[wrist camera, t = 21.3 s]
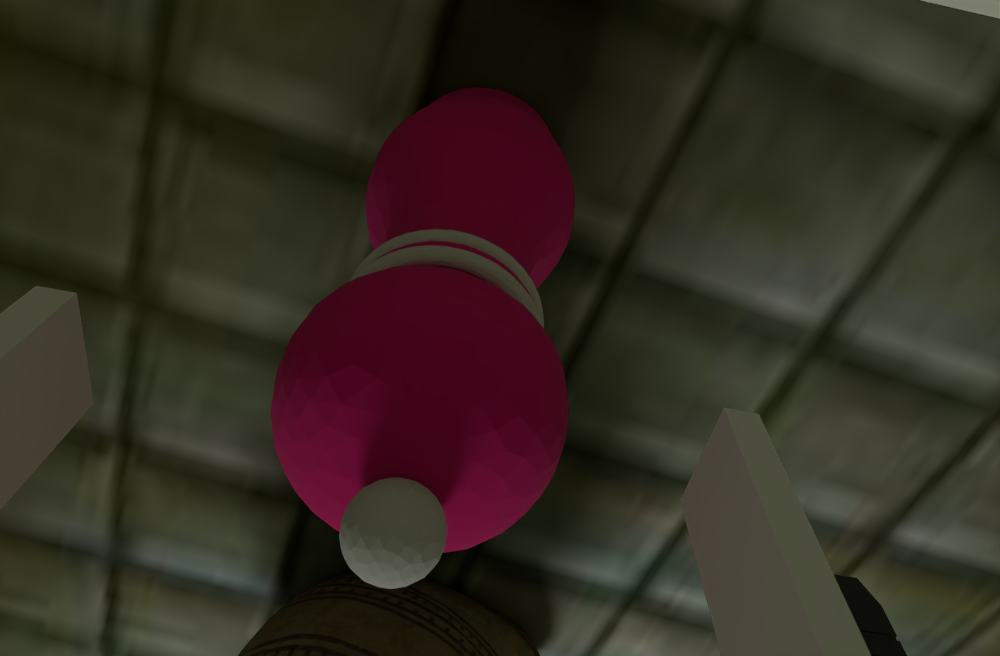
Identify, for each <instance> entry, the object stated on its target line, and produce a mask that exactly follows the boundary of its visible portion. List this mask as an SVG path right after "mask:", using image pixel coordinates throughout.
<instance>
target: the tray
mask: <svg viewBox="0 0 1000 656" xmlns="http://www.w3.org/2000/svg"><path fill="white" fill-rule="evenodd" d="M922 1H926V2H930V3H935V4H939V5H943V6H948V7H952V8H956V9H961V10H965V11H970V12H974V13H978V14H983V15H987V16H991V17H996V18H1000V0H922Z"/></svg>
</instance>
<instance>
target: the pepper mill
mask: <svg viewBox="0 0 1000 656" xmlns="http://www.w3.org/2000/svg"><path fill="white" fill-rule="evenodd" d="M574 208H575V194H574V185H573V180H572V175H571V172H570V169H569V167H568V164H567V161H566V159H565V157H564V155H563V153H562V152H561V150H560V148H559V146H558V145H557V143H556V142H555V141H554V139H553V137H552V135H551V132H550V130H549V129H548V127H547V125H546V124H545V122H544V121H543V119H542V118H541V117H540V116H539V114H538V113H537V112H536V111H535V110H534V109H533V108H532V107H531V106H529V105H528V104H527V103H525V102H524V101H522V100H521V99H519V98H518V97H516V96H514V95H511V94H509V93H507V92H504V91H500V90H495V89H491V88H476V87H472V88H465V89H460V90H456V91H453V92H451V93H448V94H446V95H444V96H442V97H440V98H438V99H437V100H435V101H434V102H432V103H431V104H430V105H429V106H427V107H425V108H422V109H421V110H419V111H418V112H416V113H415V114H413V115H411V116H410V117H408V118H407V119H406V120H404V121H403V122H402V123H401V124H400V125H399V126H398V127H397V128H396V129H394V131H393V132H392V133H391V135H390V136H389V137H388V138H387V140H386V141H385V142H384V144H383V146H382V148H381V150H380V152H379V154H378V156H377V158H376V161H375V164H374V167H373V170H372V173H371V176H370V179H369V182H368V188H367V194H366V215H367V224H368V230H369V236H370V240H371V243H372V246H373V249H374V251H373V252H371V253H370V254H369V255H368V256H367V257H366V258H365V259H364V260H363V261H362V262H361V263H360V264H359V266H358V268H357V269H356V271H355V272H354V274H353V275H352V278H351V280H350V282H348V283H346V284H344V285H343V286H341V287H340V288H338V289H337V290H335V291H334V292H333V293H331V294H330V295H329V296H327V297H326V298H325V299H323V300H322V301H321V302H319V303H318V304H317V305H316V306H315V307H314V308H313V310H312V311H311V312H310V314H309V315H308V316H307V317H306V319H305V320H304V321H303V323H302V324H301V325H300V326H299V328H298V329H297V330H296V332H295V333H294V334H293V335H292V337H291V339H290V342H289V344H288V346H287V349H286V351H285V354H284V356H283V358H282V361H281V363H280V365H279V368H278V370H277V375H276V380H275V385H274V393H273V400H272V408H271V420H272V429H273V437H274V446H275V450H276V453H277V455H278V458H279V460H280V463H281V465H282V468H283V470H284V472H285V474H286V476H287V478H288V480H289V481H290V483H291V485H292V487H293V489H294V491H295V492H296V493H297V494H298V495H299V497H300V498H301V499H302V500H303V501H304V503H305V504H306V505H307V506H308V507H309V508H310V510H311V511H312V512H313V513H314V514H316V515H317V516H318V517H319V518H321V519H322V520H323V521H325V522H326V523H327V524H328V525H330V526H331V527H332V528H334V529H335V530H337V531H339V532H340V533H339V539H340V546H341V551H342V554H343V557H344V559H345V561H346V562H347V564H348V566H349V568H350V569H351V570H352V571H353V572H354V573H355V574H357V575H358V576H359V577H360V578H361V579H362V580H363V581H364V582H367V583H369V584H372V585H374V586H377V587H380V588H387V589H395V588H401V587H406V586H408V585H410V584H412V583H414V582H417V581H419V580H421V579H423V578H425V577H426V576H427V575H428V573H429V572H430V571H431V570H432V569H433V568H434V567H435V566H436V565H437V563H438V562H439V560H440V558H441V555H442V553H446V552H452V551H459V550H465V549H469V548H471V547H473V546H476V545H478V544H480V543H482V542H485V541H487V540H489V539H491V538H493V537H495V536H497V535H499V534H501V533H502V532H504V531H505V530H506V529H508V528H509V527H510V526H512V525H513V524H514V523H515V522H517V521H518V520H519V519H520V518H521V517H522V516H523V515H524V514H525V513H526V512H527V511H528V510H529V509H530V508H531V507H532V506H533V505H534V503H535V502H536V501H537V500H538V499H539V498H540V497H541V495H542V493H543V492H544V490H545V489H546V487H547V485H548V484H549V482H550V480H551V479H552V477H553V476H554V473H555V470H556V467H557V464H558V462H559V459H560V456H561V453H562V450H563V447H564V442H565V438H566V434H567V429H568V414H569V406H568V398H567V389H566V381H565V375H564V370H563V365H562V363H561V360H560V358H559V355H558V353H557V351H556V348H555V346H554V344H553V342H552V340H551V339H550V337H549V336H548V334H547V333H546V331H545V330H544V316H543V309H542V305H541V301H540V296H539V294H538V291H537V288H538V287H539V286H540V285H541V284H542V283H543V281H544V280H545V279H546V278H547V277H548V275H549V274H550V273H551V272H552V270H553V269H554V267H555V266H556V265H557V263H558V262H559V260H560V258H561V256H562V254H563V252H564V250H565V249H566V247H567V244H568V241H569V238H570V235H571V231H572V224H573V218H574Z"/></svg>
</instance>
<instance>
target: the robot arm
mask: <svg viewBox="0 0 1000 656" xmlns="http://www.w3.org/2000/svg"><path fill="white" fill-rule="evenodd" d="M92 405H93V396H92V389H91V383H90V376H89V370H88V363H87V357H86V350H85V343H84V337H83V330H82V324H81V317H80V310H79V304H78V297H77V293H74V292H68V291H62V290H57V289H51V288H46V287H40V286H35V287H34V288H33V289H31V290H30V291H29V292H28V293H26V294H25V295H24V296H22V297H21V298H20V299H18V300H17V301H16V302H15V303H13V304H12V305H11V306H9V307H8V308H7V309H5V310H4V311H3V312H2V313H0V510H1V509H2V508H3V507H4V505H5V504H6V503H7V502H8V501H9V500H10V499H11V497H12V496H13V495H14V494H15V493H16V492H17V491H18V489H19V488H20V487H21V486H22V485H23V484H24V482H25V481H26V480H27V479H28V478H29V477H30V476H31V474H32V473H33V472H34V471H35V470H36V469H37V468H38V466H39V465H40V464H41V463H42V462H43V461H44V460H45V458H46V457H47V456H48V455H49V454H50V453H51V452H52V450H53V449H54V448H55V447H56V446H57V445H58V444H59V442H60V441H61V440H62V439H63V438H64V437H65V436H66V434H67V433H68V432H69V431H70V430H71V429H72V428H73V426H74V425H75V424H76V423H77V422H78V421H79V420H80V418H81V417H82V416H83V415H84V414H85V413H86V412H87V410H88V409H89V408H90V407H91V406H92ZM680 501H681V505H682V509H683V513H684V517H685V520H686V524H687V528H688V532H689V535H690V539H691V543H692V547H693V551H694V554H695V558H696V562H697V566H698V569H699V573H700V577H701V581H702V585H703V588H704V592H705V596H706V600H707V603H708V607H709V611H710V615H711V619H712V622H713V626H714V630H715V634H716V637H717V641H718V645H719V649H720V653H721V656H907V655H906V653H905V651H904V649H903V647H902V645H901V643H900V641H897V640H896V636H897V635H896V633H895V631H894V629H893V627H892V626H891V624H890V622H889V620H888V618H887V616H886V614H885V612H884V610H883V608H882V606H881V605H880V604H879V603H878V601H877V600H876V599H875V598H874V597H873V596H872V595H871V594H870V592H869V591H868V590H867V589H866V588H865V587H864V586H863V584H862V583H861V582H860V581H859V580H858V579H857V578H852V577H846V576H840V575H834V574H833V572H832V570H831V568H830V566H829V564H828V562H827V560H826V557H825V555H824V553H823V551H822V549H821V547H820V545H819V542H818V540H817V538H816V536H815V534H814V532H813V530H812V527H811V525H810V523H809V521H808V519H807V517H806V514H805V512H804V510H803V508H802V506H801V504H800V502H799V499H798V497H797V495H796V493H795V491H794V489H793V487H792V484H791V482H790V480H789V478H788V476H787V474H786V472H785V469H784V467H783V465H782V463H781V461H780V459H779V456H778V454H777V452H776V450H775V448H774V446H773V444H772V441H771V439H770V437H769V435H768V433H767V431H766V429H765V426H764V424H763V422H762V420H761V418H760V416H759V414H756V413H751V412H745V411H739V410H734V409H728V408H723V410H722V412H721V414H720V417H719V419H718V421H717V423H716V425H715V427H714V430H713V432H712V434H711V436H710V438H709V440H708V442H707V445H706V447H705V449H704V451H703V453H702V455H701V457H700V460H699V462H698V464H697V466H696V468H695V470H694V472H693V475H692V477H691V479H690V481H689V483H688V485H687V487H686V490H685V492H684V494H683V496H682V498H681V500H680Z"/></svg>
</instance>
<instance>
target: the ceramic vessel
mask: <svg viewBox="0 0 1000 656" xmlns="http://www.w3.org/2000/svg"><path fill="white" fill-rule="evenodd" d="M238 656H540V655H539V653H538V651H537V649H536V648H535V646H534V644H533V642H532V641H531V640H530V638H529V637H528V636H527V635H526V634H525V633H524V632H523V631H522V630H521V629H520V628H519V627H517V626H516V625H515V624H514V623H512V622H511V621H510V620H508V619H507V618H505V617H503V616H501V615H499V614H497V613H495V612H494V611H492V610H490V609H488V608H486V607H485V606H483V605H482V604H480V603H479V602H477V601H475V600H474V599H472V598H470V597H467V596H465V595H463V594H461V593H459V592H457V591H455V590H453V589H450V588H448V587H446V586H444V585H442V584H440V583H437V582H433V581H430V580H426V579H421V580H419V581H417V582H414V583H412V584H410V585H408V586H406V587H401V588H395V589H387V588H380V587H377V586H374V585H372V584H369V583H367V582H364V581H363V580H362V579H361V578H360V577H359V576H358V575H357V574H355V573H354V572H349V573H346V574H342V575H339V576H336V577H333V578H330V579H328V580H325V581H323V582H320V583H318V584H316V585H314V586H312V587H310V588H309V589H307V590H305V591H303V592H302V593H300V594H298V595H297V596H296V597H294V598H293V599H292V600H291V601H289V602H288V603H287V604H286V605H284V606H283V607H282V608H281V609H280V610H279V611H278V612H277V613H276V614H274V615H273V616H272V617H271V618H270V619H269V620H268V621H267V622H266V623H265V624H264V625H263V627H262V628H261V629H260V630H259V631H258V632H257V633H256V634H255V635H254V637H253V638H252V639H251V640H250V641H249V642H248V644H247V645H246V646H245V647H244V648H243V650H242V651H241V652H240V654H239V655H238Z"/></svg>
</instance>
